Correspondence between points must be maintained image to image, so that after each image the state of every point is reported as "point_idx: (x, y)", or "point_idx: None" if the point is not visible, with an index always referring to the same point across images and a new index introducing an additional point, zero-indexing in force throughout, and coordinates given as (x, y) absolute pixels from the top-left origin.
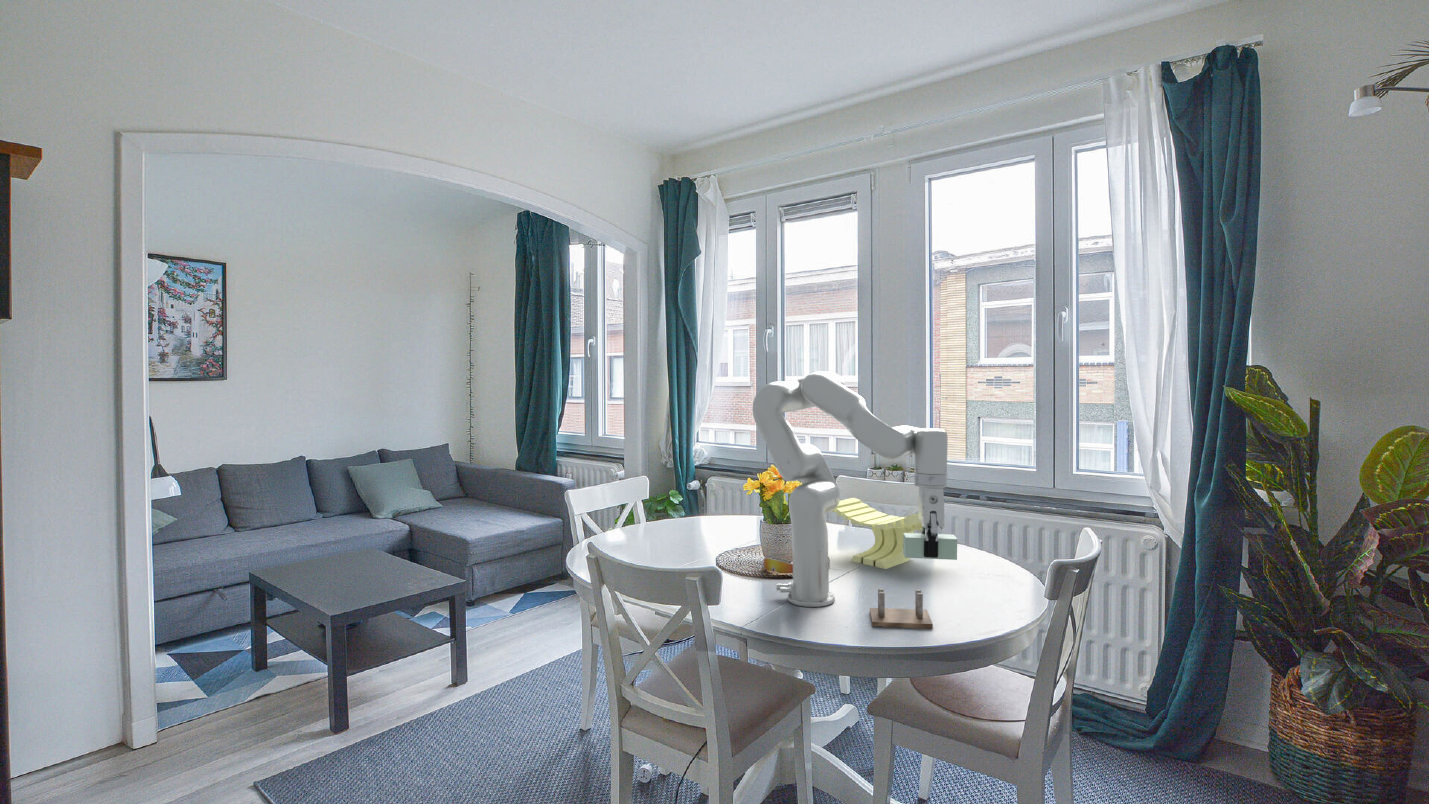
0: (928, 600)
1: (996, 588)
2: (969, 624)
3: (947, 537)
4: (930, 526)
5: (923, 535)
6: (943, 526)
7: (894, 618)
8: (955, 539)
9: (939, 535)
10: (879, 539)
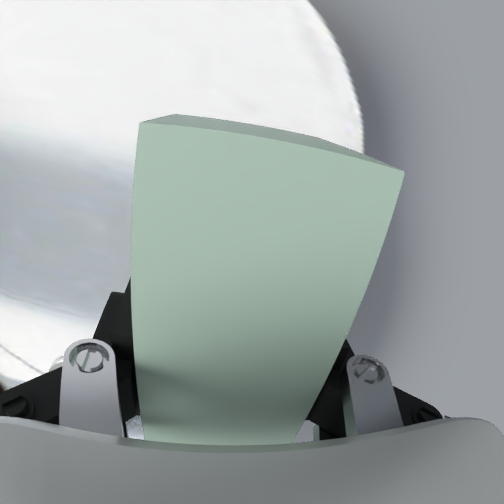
0: (44, 143)
1: None
2: (251, 76)
3: (310, 265)
4: (58, 415)
5: (214, 431)
6: (501, 434)
7: None
8: (398, 193)
9: (205, 328)
10: None
